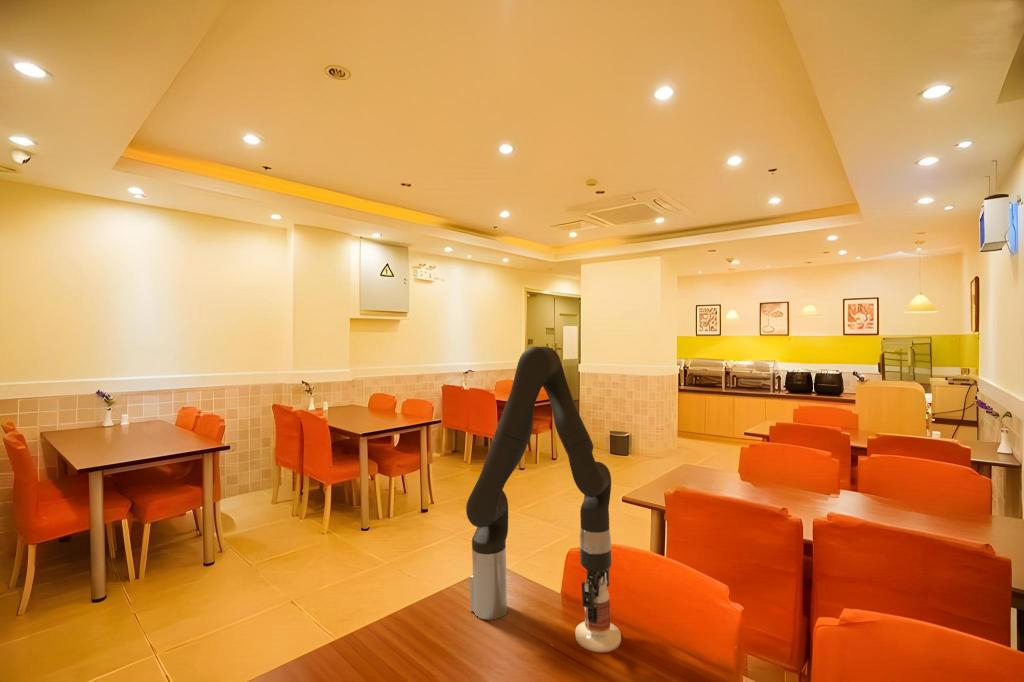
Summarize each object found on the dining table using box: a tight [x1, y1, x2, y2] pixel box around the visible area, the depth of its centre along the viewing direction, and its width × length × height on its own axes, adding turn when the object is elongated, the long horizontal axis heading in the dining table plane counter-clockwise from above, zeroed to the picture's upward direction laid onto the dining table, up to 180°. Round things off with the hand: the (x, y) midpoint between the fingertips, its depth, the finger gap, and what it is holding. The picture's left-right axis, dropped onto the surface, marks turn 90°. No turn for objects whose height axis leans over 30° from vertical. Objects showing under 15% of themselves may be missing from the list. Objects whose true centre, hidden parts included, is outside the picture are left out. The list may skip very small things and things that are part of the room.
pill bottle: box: [583, 581, 611, 634], centre depth 114 cm, size 6×6×11 cm
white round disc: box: [574, 620, 622, 653], centre depth 114 cm, size 11×11×1 cm
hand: (597, 614), depth 114 cm, fingers closed on pill bottle, 6 cm apart
